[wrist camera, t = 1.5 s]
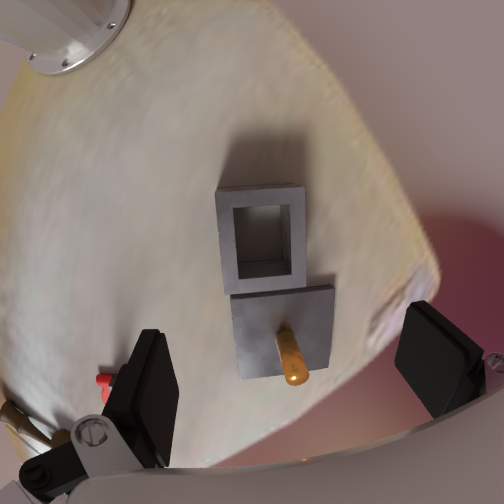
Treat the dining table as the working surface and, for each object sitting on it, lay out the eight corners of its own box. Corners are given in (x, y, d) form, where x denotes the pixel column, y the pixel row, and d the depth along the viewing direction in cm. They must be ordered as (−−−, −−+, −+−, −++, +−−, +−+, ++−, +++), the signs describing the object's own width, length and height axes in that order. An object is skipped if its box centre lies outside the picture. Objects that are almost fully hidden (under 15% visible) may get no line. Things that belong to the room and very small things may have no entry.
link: (216, 188, 24) (214, 193, 20) (292, 183, 24) (304, 187, 21) (224, 276, 26) (224, 294, 23) (295, 269, 27) (306, 286, 23)
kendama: (10, 385, 30) (106, 450, 34) (9, 408, 32) (95, 465, 37) (-6, 407, 24) (97, 476, 29) (-3, 427, 27) (87, 487, 31)
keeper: (230, 295, 27) (231, 336, 20) (331, 284, 28) (359, 319, 21) (239, 373, 30) (243, 420, 23) (325, 362, 31) (345, 403, 24)
